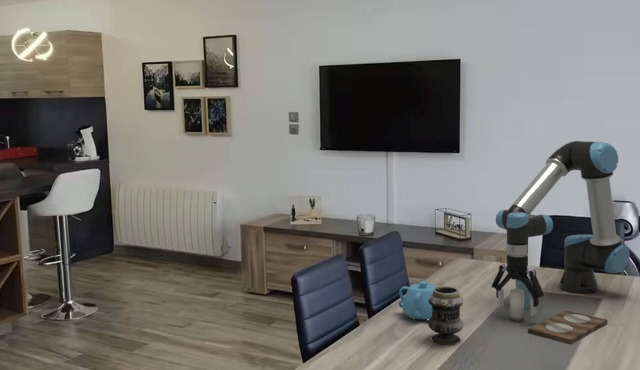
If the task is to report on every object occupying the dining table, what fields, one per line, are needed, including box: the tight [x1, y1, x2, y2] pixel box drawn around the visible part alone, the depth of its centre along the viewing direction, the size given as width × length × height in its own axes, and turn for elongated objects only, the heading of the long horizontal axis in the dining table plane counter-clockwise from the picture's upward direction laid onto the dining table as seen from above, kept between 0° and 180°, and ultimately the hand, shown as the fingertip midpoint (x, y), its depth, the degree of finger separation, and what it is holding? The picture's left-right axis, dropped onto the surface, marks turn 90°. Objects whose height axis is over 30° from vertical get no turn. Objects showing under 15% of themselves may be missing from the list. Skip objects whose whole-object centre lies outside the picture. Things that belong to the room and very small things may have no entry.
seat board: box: [527, 309, 608, 345], centre depth 235 cm, size 27×16×2 cm, turn 132°
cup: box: [514, 278, 533, 309], centre depth 260 cm, size 8×8×10 cm
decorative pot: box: [398, 280, 438, 320], centre depth 252 cm, size 16×16×14 cm
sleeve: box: [509, 288, 525, 323], centre depth 245 cm, size 5×5×11 cm
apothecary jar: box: [427, 285, 464, 345], centre depth 227 cm, size 12×12×18 cm
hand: (516, 310), depth 245 cm, fingers open, 13 cm apart
